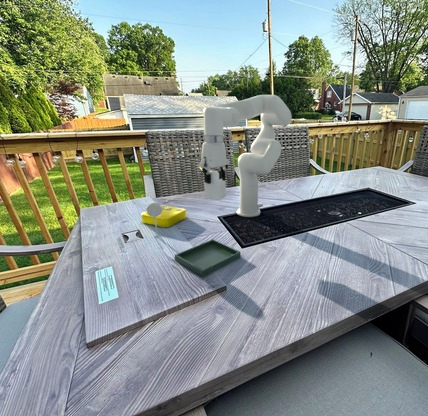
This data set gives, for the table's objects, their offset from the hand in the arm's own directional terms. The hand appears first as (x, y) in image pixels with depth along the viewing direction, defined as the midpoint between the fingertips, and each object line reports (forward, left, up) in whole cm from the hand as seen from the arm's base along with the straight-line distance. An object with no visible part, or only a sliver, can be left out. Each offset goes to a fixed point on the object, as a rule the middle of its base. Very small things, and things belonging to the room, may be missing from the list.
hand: (215, 181), depth 113 cm
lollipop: (+23, -10, -22) cm, 33 cm away
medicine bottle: (0, 0, -8) cm, 8 cm away
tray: (+20, +19, -22) cm, 35 cm away
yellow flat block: (+11, -24, -22) cm, 34 cm away
